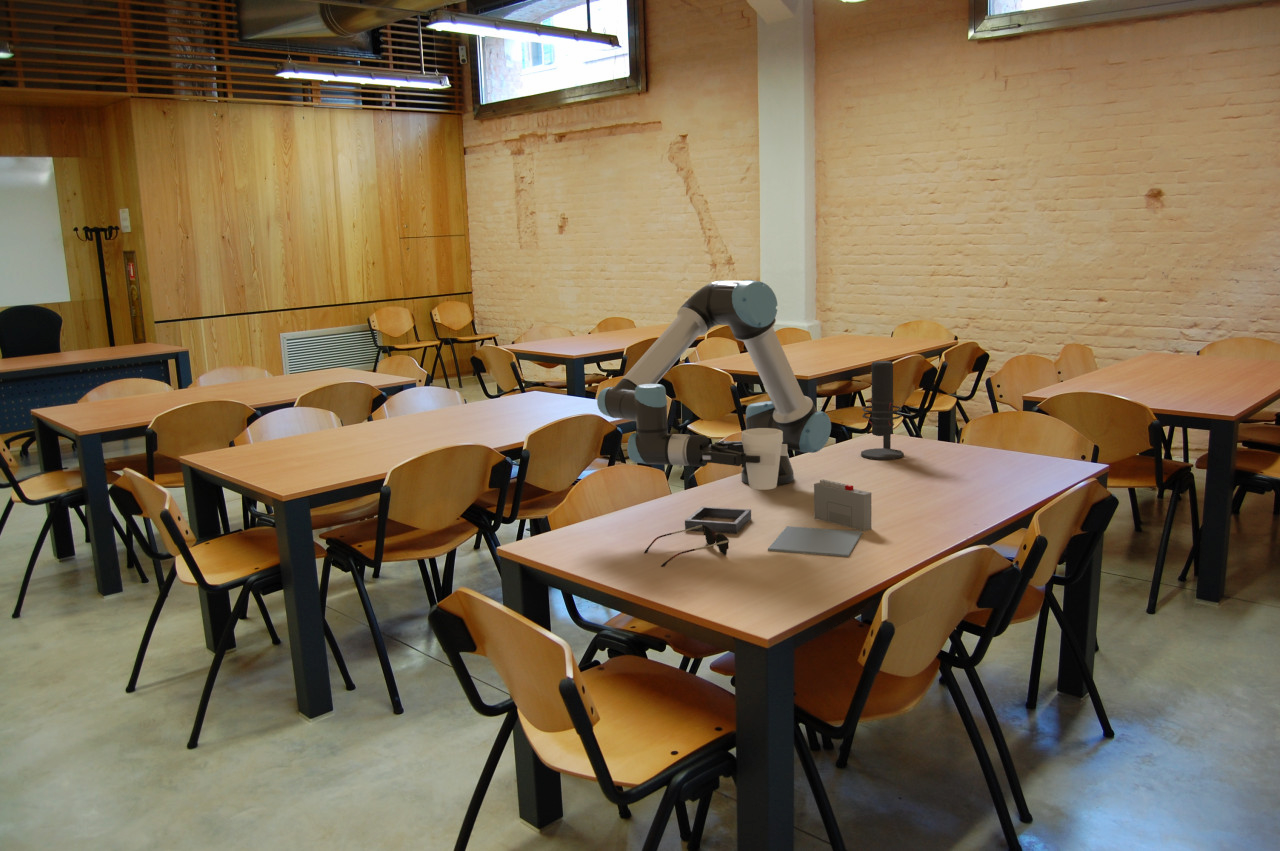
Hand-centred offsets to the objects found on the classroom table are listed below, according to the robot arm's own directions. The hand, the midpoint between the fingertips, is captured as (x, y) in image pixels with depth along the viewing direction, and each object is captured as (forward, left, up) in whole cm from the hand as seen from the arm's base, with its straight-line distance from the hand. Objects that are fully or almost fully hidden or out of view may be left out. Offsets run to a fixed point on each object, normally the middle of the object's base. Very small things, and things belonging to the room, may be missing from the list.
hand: (781, 454), depth 222 cm
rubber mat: (+1, +8, -20) cm, 22 cm away
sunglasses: (+17, -18, -21) cm, 32 cm away
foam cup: (0, -5, -8) cm, 9 cm away
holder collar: (-7, -18, -20) cm, 28 cm away
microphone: (-93, +9, -20) cm, 95 cm away
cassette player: (-15, +11, -20) cm, 28 cm away
